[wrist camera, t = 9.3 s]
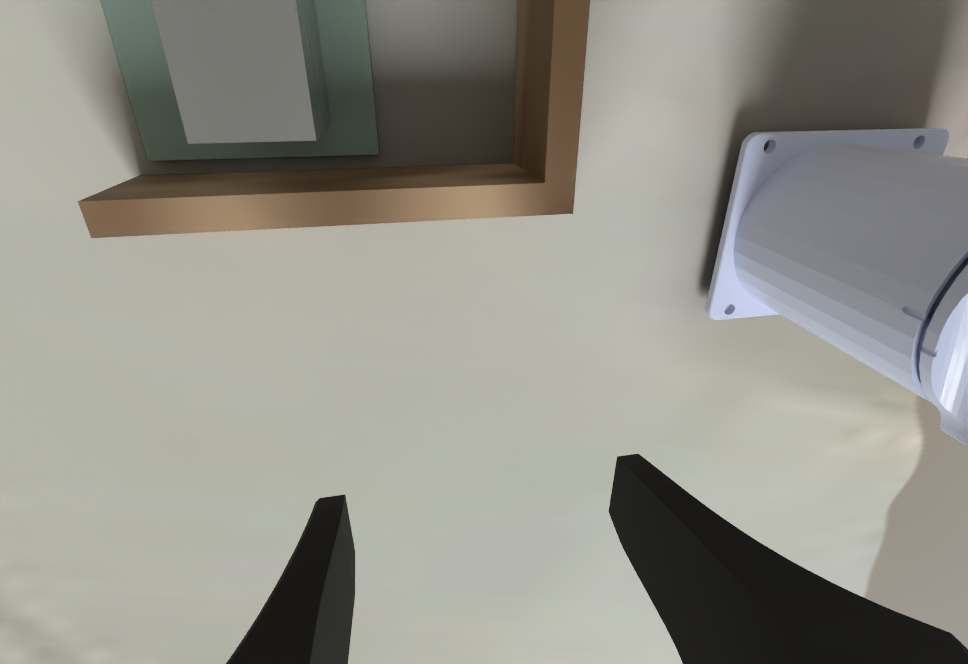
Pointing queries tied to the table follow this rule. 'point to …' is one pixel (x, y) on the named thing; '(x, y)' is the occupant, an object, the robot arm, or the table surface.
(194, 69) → the bracket
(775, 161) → the robot arm
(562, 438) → the table surface
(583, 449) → the table surface
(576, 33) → the brown wooden l-shaped piece
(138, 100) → the pad
